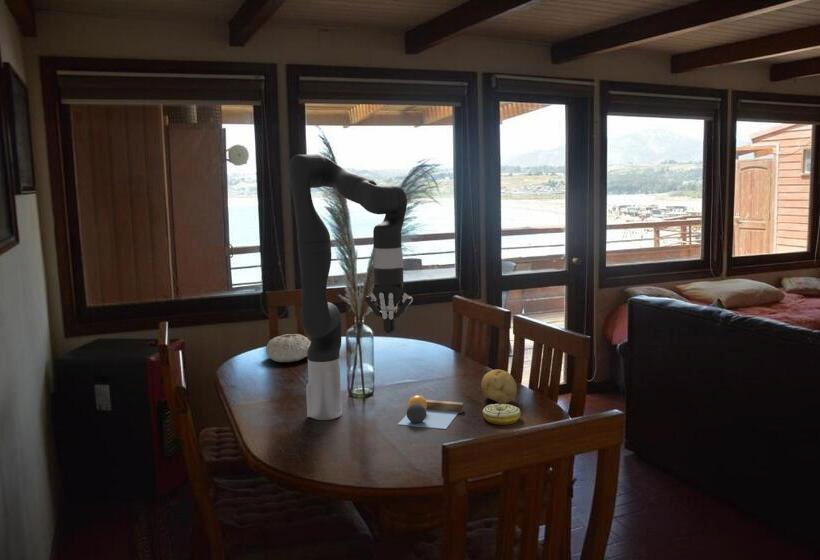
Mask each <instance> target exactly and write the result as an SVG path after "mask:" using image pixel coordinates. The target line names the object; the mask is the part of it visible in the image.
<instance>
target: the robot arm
mask: <svg viewBox="0 0 820 560" xmlns="http://www.w3.org/2000/svg"><path fill="white" fill-rule="evenodd" d="M288 179H289V184H290V189H291V194H292V201H293V207H294V214H295V223H296V238H297V250H298V260H299V262H298V263H299V270H300V282H301V325H302V329H303V330H304V332H305V333H306V335H308V336H309V337H311V339H310V341H311V344H310V346H309V348H308V351H307V356H306V358H307V372H308V373H307V375H308V376H307V377H308V383H307V384H306V386H305V389H306V390H305V392H306V393H305V394H306V396H305V397H306V413H307V414H306V417H307V418H311V419H314V420H316V421H317V420H318V421H331V420H335V419H337V418H340V417H341V416H342V414H343V413H342V411H343V409H342V408H343V407H342V387H341V386H342V384H341V361H340V359H341V358H340V356H341V355H340V350H341V347H342V316H341V315H342V314H341V312H340V309H339V308H338V307H337V305H336V304H333V303H332V302H329V301H328V296H327V295H328V293H327V290H328V289H327V286H328V280H329V276H330V275H329V274H330V270H331V263H332V243H331V234H330V232H329V229H328V228H327V226H326V224H325V222H324V221H323V219H322V218H321V217H320V215H319V213H318V212H317V211H316V208H315V206H314V202H313V198H312V197H313V196H312V192H311V191H312V190H311V189H315V188H317V189H318V188H322V187H325V188H326V187H327V188H334V189H336V190H337V192H338V193H339V194H340V195H341V196H342V197H343V198H344V199H346V200H349V201H350V202H352V203H353V202H354V203H356V204H358V205H360V206H361V207H362V208H363V209H364V210H366V211H367V212H369V213H371V214H374V215H385V217H384V218H383V221H382V222H381V223H379V224H377V225H375V226H374V227H373V232H372V234H373V236H372V237H373V238H372V241H373V254H372V268H373V271H372V272H373V288H372V292H371V293H370V294H369V295H367V296H365V297H364V301H365V302H366V303H367V305H368V306H369V308H370V309H371V310H372V311H373V313H374V314H375V316H376V317H380V318H382V321H383V322H382V323H383V330H384V331H383V332H385V334H387V335H388V334H389V335H390V334H394V332H395V331H396V329H397V326H396V325H397V323H396V321H397V320H396V319H397V318H399V317H401V316H403V315H404V314H405V312H406V311H407V309H408V308H409V307H410V306H411V304H412V303H413V302H414V297H413V296H410V295H409V294H407V293H406V288H405V287H404V257H403V256H404V255H403V249H402V230H403V229H402V228H403V226H404V220H405V217H406V211H407V209H408V207H407V206H408V200H407V199H408V198H407V193H406V192H405V190H404V189H403V188H402V187H401V186H400V185H399V186H398V185H378V184H377V182H375V181H374V179H370V178H369V177H366V176H363V175H361V174H357V173H355V172H351V171H349V170H348V169H346V168H345V167H342V166H341V165H339V164H337V163H336V162H335V161H333V160H332V159H330V158H328V157H326V156H325V155H322V154H316V153H314V154H295V155H293V156H292V157H291V158H290V161H289V165H288ZM401 301H402V304H401V306H400V307H399V308H398V304H399V303H400V302H401Z"/></svg>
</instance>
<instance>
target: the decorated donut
mask: <svg viewBox="0 0 820 560" xmlns="http://www.w3.org/2000/svg"><path fill="white" fill-rule="evenodd" d="M521 414H522V413H521V409H520V408H519V407H517V406H514V405H513V404H509V403H505V404H501V403H493V404H492V403H491V404H488V405H486V406H485V407H484V408H483V409H482V415H483V418H484V419H485V420H486V422H488V423H490V424H492V425H493V424H494V425H501V426H502V425H503V426H504V425H511V424H515V423H516V422H518V421H519V419H520V417H521Z"/></svg>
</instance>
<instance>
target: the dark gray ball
mask: <svg viewBox="0 0 820 560" xmlns="http://www.w3.org/2000/svg"><path fill="white" fill-rule="evenodd" d="M406 415H407V418H408V419H409V421H411V422H412V423H421V422H422V421H423V420H424V419H425V417H426V410H425V408H424V407H423V406H422V405H421V404H412V405H410V406H408V408H407V409H406Z"/></svg>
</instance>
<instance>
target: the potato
mask: <svg viewBox="0 0 820 560" xmlns="http://www.w3.org/2000/svg"><path fill="white" fill-rule="evenodd" d="M480 386H481V392H482V394H483V396H484V397H486V398H487V399H489V400H491V401H495V402H496V403H497V404H509V403H510V402H511V401H513V400H514V399H515V397H516V395H517V391H518V384H517V382H516V380H515V378H514V377H513V376H512V374H510V373H509V372H508V371H505V370H503V369H492V370H489V371H488V372H486V373H485V374H484V375H483V378H482V379H481V385H480Z"/></svg>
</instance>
